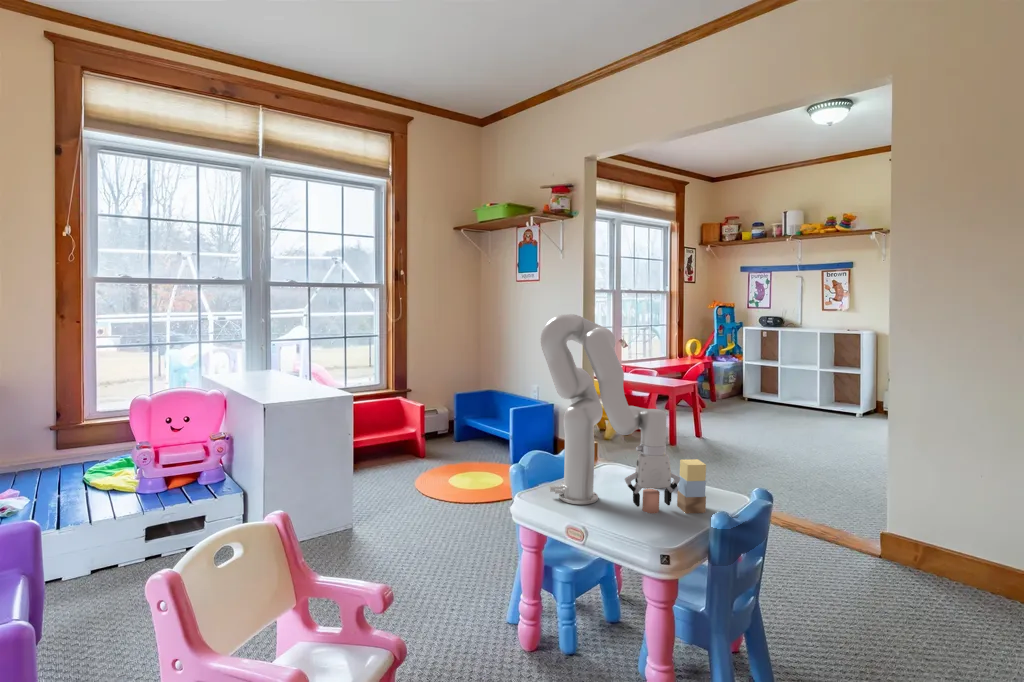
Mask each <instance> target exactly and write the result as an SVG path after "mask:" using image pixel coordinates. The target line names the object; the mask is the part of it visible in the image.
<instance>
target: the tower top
mask: <svg viewBox="0 0 1024 682" xmlns="http://www.w3.org/2000/svg"><path fill="white" fill-rule="evenodd" d="M706 474H707V464H706V463H704V462H703V461H701V460H700V459H698V458H697V459H696V458H695V459H680V460H679V475H680V476H681V477H682V478H684V479H685V480H686V481H706V478H707V475H706Z"/></svg>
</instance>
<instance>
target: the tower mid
mask: <svg viewBox="0 0 1024 682" xmlns="http://www.w3.org/2000/svg"><path fill="white" fill-rule="evenodd" d="M678 477H680V481H679V483H678V491H679V492H681V493H682V494H683V495H684V496H685V497H706V486H707V485H706V483H707V481H706V480H705V481H686V480H685V479H684V478H682V477H681V476H680V474H679V475H678Z"/></svg>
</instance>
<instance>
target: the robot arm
mask: <svg viewBox="0 0 1024 682" xmlns="http://www.w3.org/2000/svg"><path fill="white" fill-rule="evenodd" d="M568 341H573V342H575V343H577V344H580V345H582V346H583V349H584V352H585V354H586V356H587V359H588V361H589V363H590V366H591V367H592V370H593V373H594V376H595V378H596V380H597V383H598V390H599V393H600V397H599V395H598V393H597V390H596V387H595V384H594V382H593V379H592V377H591V375H590V374H589V373H588V371H587V370H585V369H583V368H582V367H577V365H576V362H575V360H574V357H573V354H572V352H571V350H570V348H569V347H568V345H567V342H568ZM615 346H616V337H615V334H614V332H612V331H611V330H610V329H608V328H606V327H605V326H602V325H601V324H598V323H595V322H593V321H591V320H589V319H587V318H585V317H582V316H580V315H577V314H572V313H570V314H558V315H556V316H554V317H552V318H550V319H549V320H548V321H547V323H546V324H545V325H544V326H543V328H542V330H541V334H540V347H541V350H542V353H543V356H544V358H545V361H546V364H547V367H548V370H549V373H550V376H551V378H552V381H553V383H554V387H555V388H554V389H555V390H556V393H557V394H558V396H559V397H561V398H562V399H563V400H570V403H571V404H570V405H569V406H567V408H566V409H565V412H564V415H563V419H562V421H563V431H564V466H563V468H564V469H563V471H564V472H563V473H564V474H563V481H562V482H561V484H558V485H548V486H549V490H548V491H549V492H550V493H554V494H555V495H557V494H558V498H559V499H560V500H561V501H562V502H564V503H568V504H571V505H591V504H594V503H596V502H597V501H599V500H598V499H599V495H598V494H597V493H596V492H595V491H594V478H595V477H594V476H595V475H594V474H595V472H594V471H595V434H594V426H595V425H597V424H598V423H599V422H601V419H602V417H603V411H604V412H605V414H606V417H607V419H608V421H609V424H610V426H611V428H613V429H612V430H613V431H615V432H616V433H617V434H619V435H621V436H628V435H631V434H633V433H634V432H635V431H637V430H640V443H639V445H638V446H636V447H635V451H636V452H639V453H638V455H637V459H636V466H635V472H633V473H632V474H630V475H628V476H626V477H624V481H625V484H626V485H627V487H628V488H629V489H630V490H631V491H632V502H633V503H634V505H635V506H636V507H637V508H638V507H640V506H641V500H640V499H641V494H640V491H641V490H642V489H643V490H644V489H664V491H663V493H664V494H663V495H664V496H663V497H664V499H663V502H664V503H665V505H667V506H670V505H671V502H672V493H673V492H674V490H675V489H676V488H677V487H678V485H679V481H680V477H679V475H677V474H675V473H673V472H671V470H672V469H671V462H670V457H669V454H668V453H666V452H667V450H666V449H667V413H666V412H665V411H664V410H663V409H660V408H645V407H639V406H634V405H629V404H628V401H627V398H626V396H625V390H624V380H625V372H624V370H623V369H624V368H623V367H622V364H621V362H620V359H619V358H618V355H617V353H616V351H615V349H614V348H615ZM601 403H602V404H601ZM602 406H603V407H602ZM672 479H673V481H672ZM632 481H635V482H634V483H635V484H634V485H633V484H632Z"/></svg>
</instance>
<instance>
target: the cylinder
mask: <svg viewBox="0 0 1024 682" xmlns="http://www.w3.org/2000/svg"><path fill="white" fill-rule="evenodd" d="M660 496H661V495H660V490H658V489H656V488H649V489H644V488H643V490H642V504H641V505H642V507H641V508H642V509H641V510H642V511H643V512H644V513H646V512H647V514H658V513H659V512H660Z"/></svg>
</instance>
